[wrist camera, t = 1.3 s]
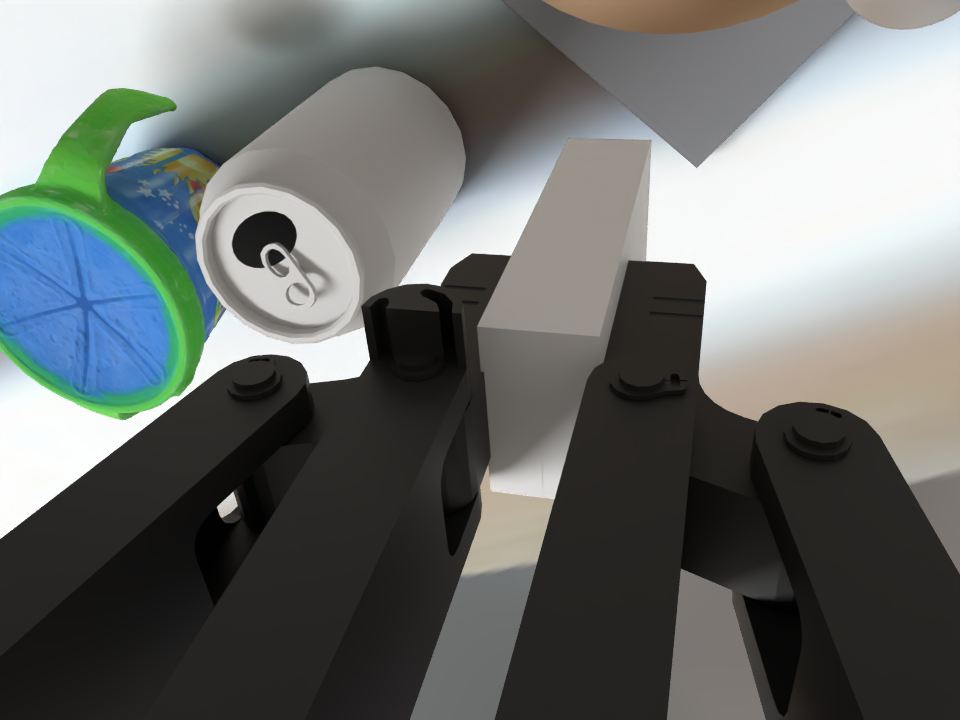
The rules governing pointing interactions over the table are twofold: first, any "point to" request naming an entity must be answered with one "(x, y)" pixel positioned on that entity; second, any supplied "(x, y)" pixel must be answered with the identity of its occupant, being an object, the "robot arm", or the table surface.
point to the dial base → (692, 66)
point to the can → (330, 205)
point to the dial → (739, 13)
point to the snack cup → (108, 265)
